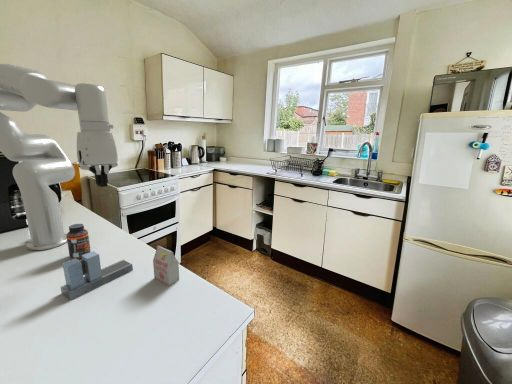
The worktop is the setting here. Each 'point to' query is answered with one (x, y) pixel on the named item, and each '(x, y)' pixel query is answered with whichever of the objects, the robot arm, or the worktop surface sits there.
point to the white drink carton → (165, 266)
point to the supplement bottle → (78, 241)
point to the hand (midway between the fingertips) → (102, 186)
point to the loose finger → (91, 265)
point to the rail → (81, 285)
